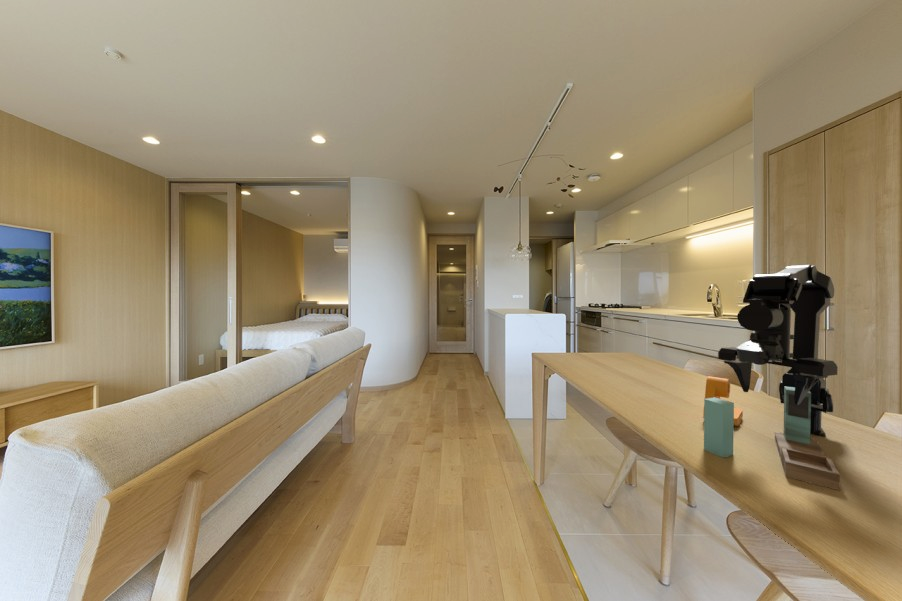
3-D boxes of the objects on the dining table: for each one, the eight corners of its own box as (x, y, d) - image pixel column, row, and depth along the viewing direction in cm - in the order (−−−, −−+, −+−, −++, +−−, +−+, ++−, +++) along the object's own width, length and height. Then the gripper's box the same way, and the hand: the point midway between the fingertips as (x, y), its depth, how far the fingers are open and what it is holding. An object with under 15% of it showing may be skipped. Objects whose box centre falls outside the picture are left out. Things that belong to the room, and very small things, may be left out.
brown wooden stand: (774, 437, 81) (775, 384, 80) (816, 446, 76) (817, 390, 76) (785, 476, 64) (786, 410, 64) (839, 490, 60) (841, 419, 59)
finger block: (714, 446, 77) (715, 397, 76) (733, 454, 73) (734, 402, 73) (703, 449, 76) (704, 399, 75) (722, 457, 72) (723, 404, 71)
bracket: (737, 429, 86) (737, 385, 86) (703, 421, 92) (703, 379, 92) (743, 418, 94) (743, 377, 93) (711, 411, 99) (711, 372, 99)
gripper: (703, 326, 79) (701, 389, 79) (807, 335, 61) (804, 416, 61) (733, 325, 82) (731, 385, 83) (840, 333, 65) (837, 410, 65)
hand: (769, 397), depth 73 cm, fingers open, 9 cm apart
